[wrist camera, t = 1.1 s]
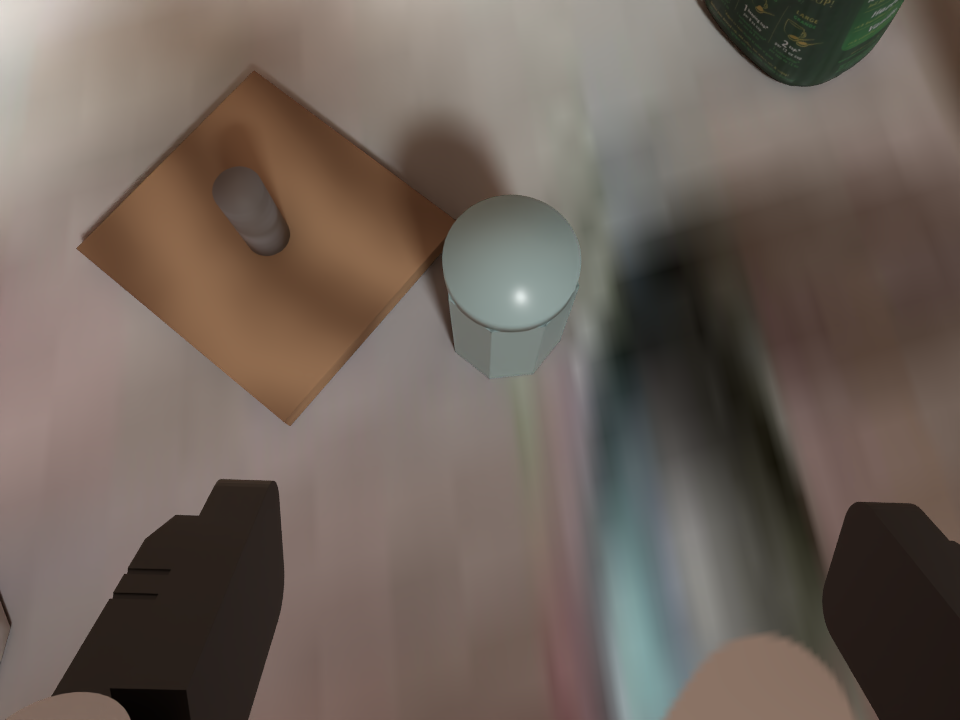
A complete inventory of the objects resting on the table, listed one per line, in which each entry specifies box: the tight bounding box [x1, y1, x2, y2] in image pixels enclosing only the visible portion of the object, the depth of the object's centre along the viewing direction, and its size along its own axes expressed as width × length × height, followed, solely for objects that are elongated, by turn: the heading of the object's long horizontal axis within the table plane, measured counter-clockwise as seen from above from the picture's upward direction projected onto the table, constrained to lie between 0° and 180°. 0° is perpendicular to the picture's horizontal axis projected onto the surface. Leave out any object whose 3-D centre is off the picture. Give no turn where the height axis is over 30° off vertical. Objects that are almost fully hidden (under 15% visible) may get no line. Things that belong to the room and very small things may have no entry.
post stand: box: [76, 71, 456, 426], centre depth 37 cm, size 13×14×6 cm
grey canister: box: [442, 195, 581, 379], centre depth 34 cm, size 5×5×9 cm
